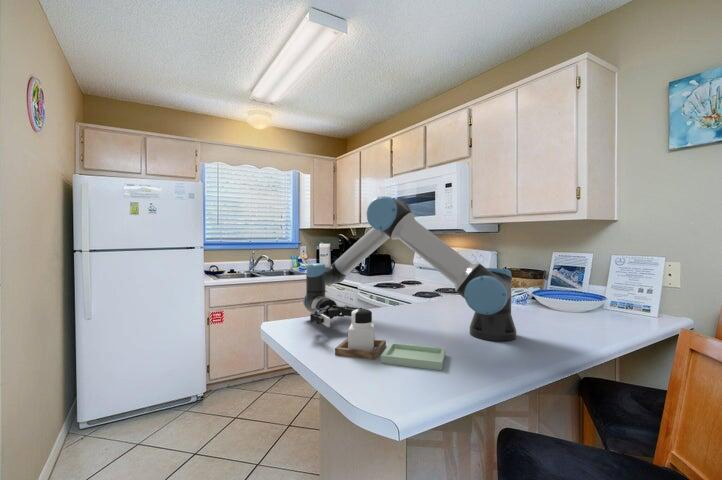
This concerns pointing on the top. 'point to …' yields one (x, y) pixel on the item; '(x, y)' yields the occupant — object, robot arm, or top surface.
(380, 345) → the frame
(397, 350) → the tray
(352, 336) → the medicine bottle
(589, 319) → the top surface
